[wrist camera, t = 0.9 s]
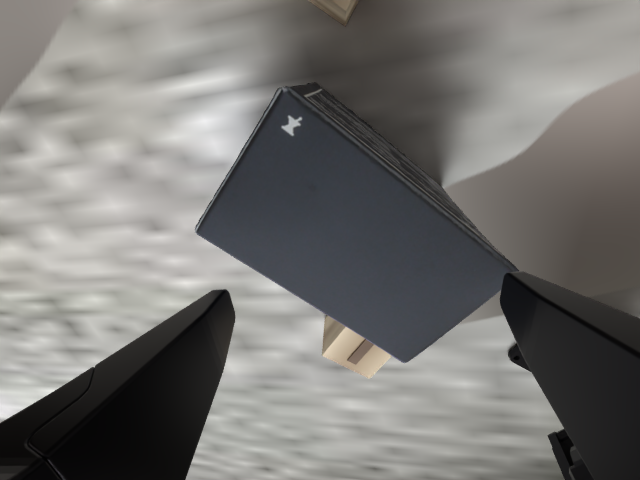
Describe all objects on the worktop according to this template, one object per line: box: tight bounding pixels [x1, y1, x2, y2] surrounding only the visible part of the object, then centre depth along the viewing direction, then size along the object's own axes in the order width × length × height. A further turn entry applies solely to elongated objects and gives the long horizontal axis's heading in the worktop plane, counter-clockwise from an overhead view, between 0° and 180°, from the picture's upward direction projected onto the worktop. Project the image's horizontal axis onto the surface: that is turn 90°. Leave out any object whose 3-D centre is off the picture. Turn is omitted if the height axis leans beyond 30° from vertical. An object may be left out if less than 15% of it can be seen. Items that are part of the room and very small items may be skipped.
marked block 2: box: [322, 315, 391, 379], centre depth 23 cm, size 4×4×4 cm
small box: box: [195, 82, 519, 363], centre depth 16 cm, size 11×6×10 cm, turn 54°
